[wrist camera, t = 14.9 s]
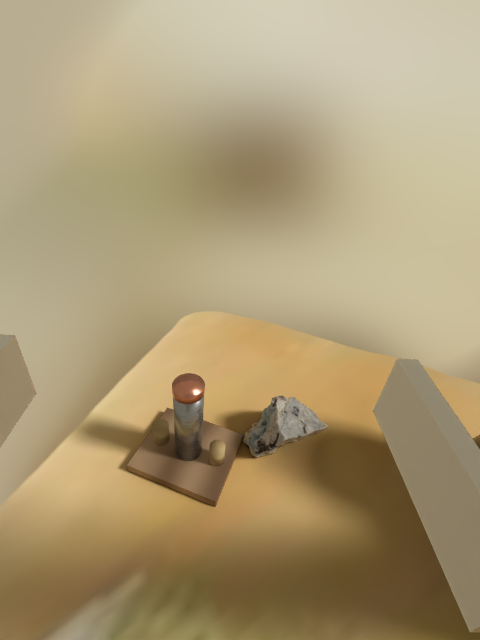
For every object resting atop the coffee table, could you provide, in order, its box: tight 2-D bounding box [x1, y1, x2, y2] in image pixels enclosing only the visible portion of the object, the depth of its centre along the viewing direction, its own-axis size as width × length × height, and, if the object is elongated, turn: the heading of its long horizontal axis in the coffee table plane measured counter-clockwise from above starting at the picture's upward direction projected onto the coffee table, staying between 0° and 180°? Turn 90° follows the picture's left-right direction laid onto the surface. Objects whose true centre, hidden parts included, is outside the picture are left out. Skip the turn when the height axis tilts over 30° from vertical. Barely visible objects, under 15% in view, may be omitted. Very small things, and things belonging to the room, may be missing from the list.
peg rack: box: [127, 408, 243, 507], centre depth 43 cm, size 12×10×4 cm
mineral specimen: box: [243, 396, 328, 458], centre depth 46 cm, size 10×8×10 cm
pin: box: [172, 373, 205, 461], centre depth 40 cm, size 4×4×12 cm
